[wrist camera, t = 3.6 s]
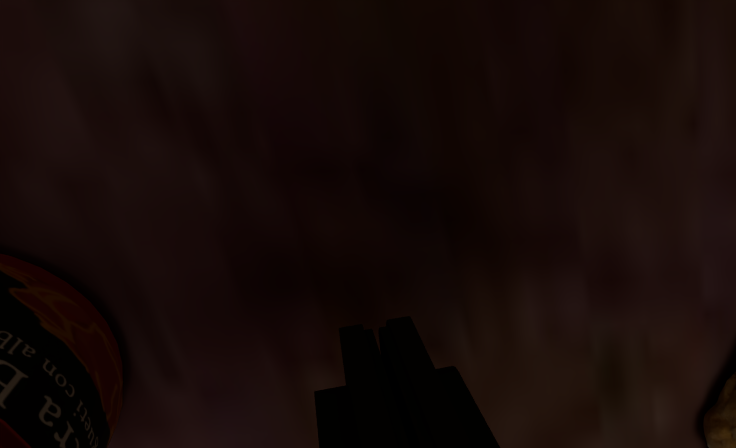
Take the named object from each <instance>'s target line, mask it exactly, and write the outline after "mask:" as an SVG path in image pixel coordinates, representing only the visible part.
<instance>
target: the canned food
mask: <svg viewBox="0 0 736 448" xmlns="http://www.w3.org/2000/svg"><path fill="white" fill-rule="evenodd" d="M122 396H123V370H122V361H121V357H120V352H119V348H118V344H117V341H116V339H115V338H114V336H113V334H112V332H111V330H110V328H109V326H108V324H107V322H106V321H105V319H104V318H103V317H102V316H101V314H100V313H99V312H98V311H97V310H96V308H95V307H94V306H93V305H92V303H91V302H90V301H89V300H88V299H86V298H85V297H84V296H83V295H82V294H80V293H79V292H78V291H77V290H76V289H74V288H73V287H72V286H71V285H70V284H68V283H67V282H65V281H63V280H62V279H60V278H58V277H56V276H55V275H53V274H51V273H50V272H48V271H46V270H44V269H43V268H41V267H38V266H36V265H33V264H30V263H28V262H25V261H22V260H20V259H17V258H15V257H12V256H9V255H4V254H0V448H107V446H108V444H109V442H110V440H111V437H112V435H113V433H114V430H115V428H116V425H117V421H118V418H119V415H120V411H121V408H122Z"/></svg>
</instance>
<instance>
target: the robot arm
mask: <svg viewBox="0 0 736 448" xmlns="http://www.w3.org/2000/svg"><path fill="white" fill-rule="evenodd" d="M339 333H340V341H341V349H342V357H343V365H344V373H345V380H346V386H341V387H336V388H330V389H325V390H319V391H314V394H315V405H316V416H317V427H318V438H319V448H500V447H499V445H498V443H497V441H496V439H495V437H494V436H493V434H492V432H491V430H490V428H489V427H488V425H487V423H486V421H485V419H484V417H483V416H482V414H481V412H480V410H479V408H478V406H477V405H476V403H475V401H474V399H473V397H472V395H471V394H470V392H469V390H468V388H467V386H466V384H465V383H464V381H463V379H462V377H461V375H460V373H459V372H458V370H457V369H456V367H454V366H451V367H445V368H440V369H435V367H434V365H433V363H432V361H431V359H430V357H429V355H428V353H427V351H426V349H425V346H424V344H423V342H422V340H421V338H420V336H419V334H418V332H417V330H416V328H415V326H414V323H413V321H412V319H411V318H410V316H407V317H401V318H395V319H389V320H387V321H386V326H385V327H379V341H380V351H381V355H380V352H379V349H378V345H377V342H376V339H375V336H374V333H373V330H372V329H368V330H364V329H363V325H362V324H360V325H354V326H348V327H342V328H339Z"/></svg>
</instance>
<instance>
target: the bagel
mask: <svg viewBox="0 0 736 448" xmlns="http://www.w3.org/2000/svg"><path fill="white" fill-rule="evenodd" d="M703 428H704V433H705V437H706V440H707V446H708V447H709V448H736V372H735V373H734V374H733V375H732V376H731V377H730V378H729V379H728V380H727V381H726V383H725V386H724V387H723V389H722V391H721V392H720V394H719V397H718V401H717V402H716V404H715V405H714V406H713V407H712V408H710V409H709V410H708V411H707V413H706V414H705V416H704V424H703Z"/></svg>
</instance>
